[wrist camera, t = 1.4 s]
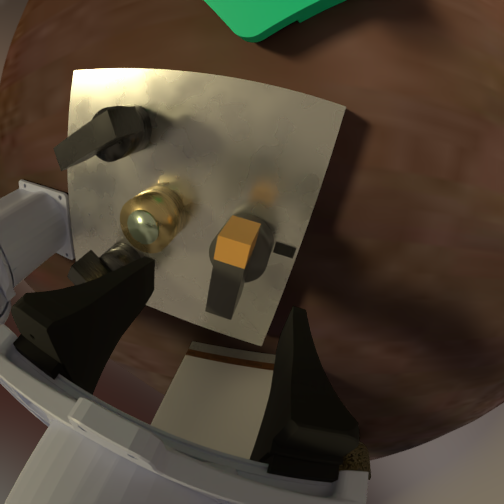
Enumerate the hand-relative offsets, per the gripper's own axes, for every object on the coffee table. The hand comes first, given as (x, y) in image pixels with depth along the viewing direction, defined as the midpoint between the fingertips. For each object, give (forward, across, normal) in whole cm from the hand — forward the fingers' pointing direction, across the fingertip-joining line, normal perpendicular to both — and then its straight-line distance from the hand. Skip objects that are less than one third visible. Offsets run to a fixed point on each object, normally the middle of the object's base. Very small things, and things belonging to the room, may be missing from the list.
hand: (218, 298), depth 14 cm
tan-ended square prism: (+6, 0, 0) cm, 6 cm away
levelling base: (+8, +7, 0) cm, 11 cm away
